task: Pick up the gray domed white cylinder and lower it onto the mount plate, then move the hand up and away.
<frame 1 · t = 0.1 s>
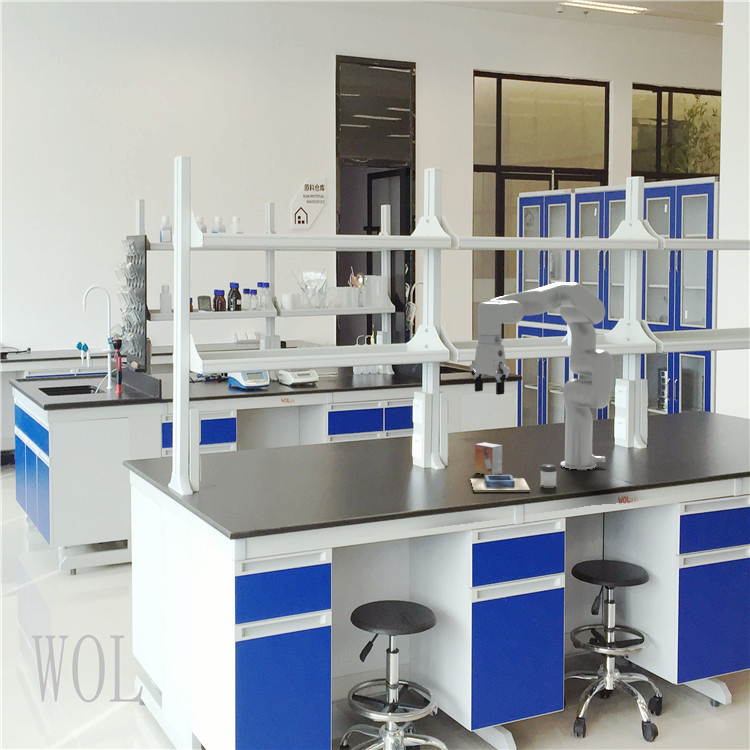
hand: (489, 392, 321), 31 cm above the worktop, tool pointing down, fingers open, 9 cm apart
small box: (488, 474, 343), on the worktop
mount plate: (499, 486, 324), on the worktop
gray domed white cylinder: (548, 486, 324), on the worktop
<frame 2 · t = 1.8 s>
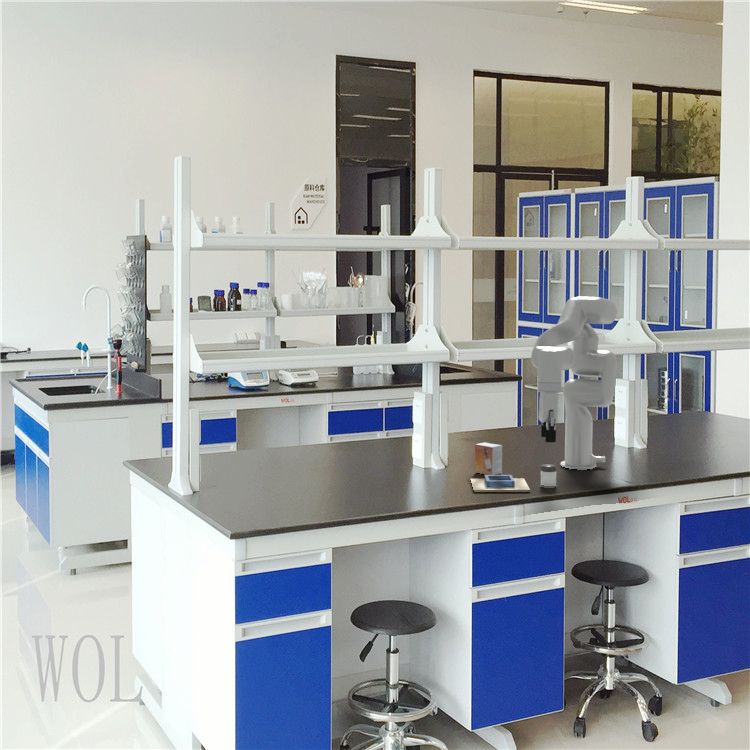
hand: (548, 439, 321), 16 cm above the worktop, tool pointing down, fingers open, 9 cm apart
nothing on the worktop moved.
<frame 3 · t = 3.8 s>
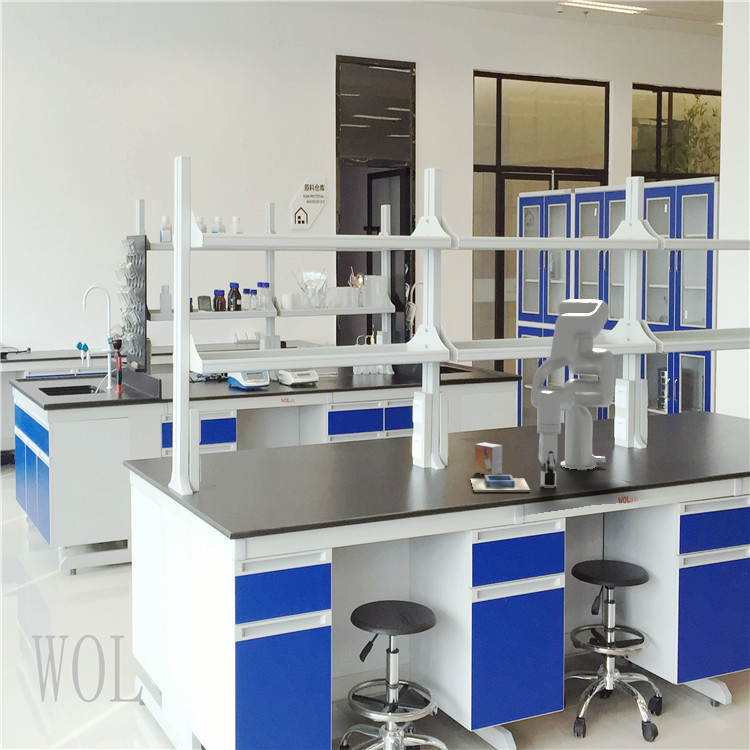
hand: (548, 482, 323), 1 cm above the worktop, tool pointing down, fingers closed on gray domed white cylinder, 5 cm apart
gray domed white cylinder: (548, 486, 323), on the worktop, touching gripper
everything else where it was.
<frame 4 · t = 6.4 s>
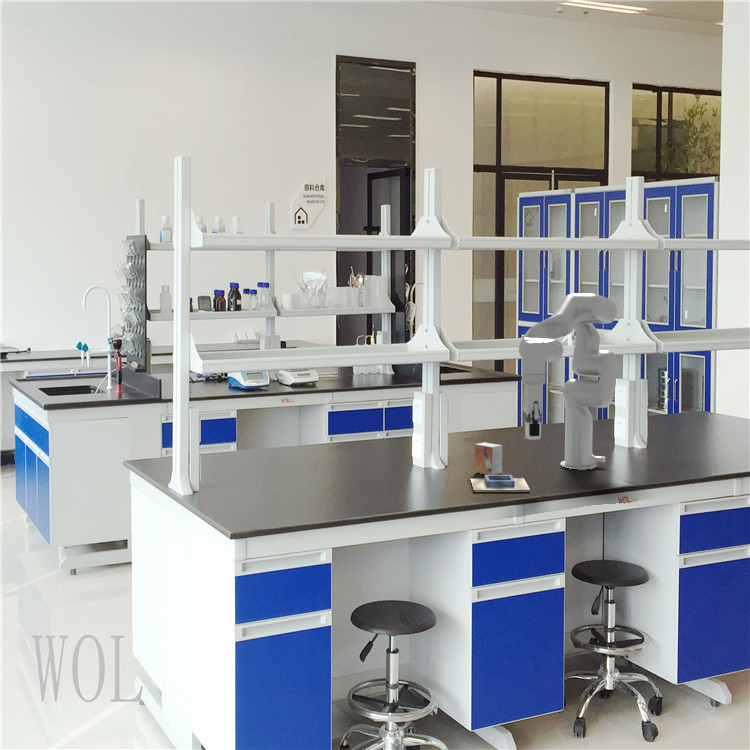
hand: (532, 433, 321), 18 cm above the worktop, tool pointing down, fingers closed on gray domed white cylinder, 5 cm apart
gray domed white cylinder: (533, 438, 321), point 16 cm above the worktop, touching gripper
everything else where it was.
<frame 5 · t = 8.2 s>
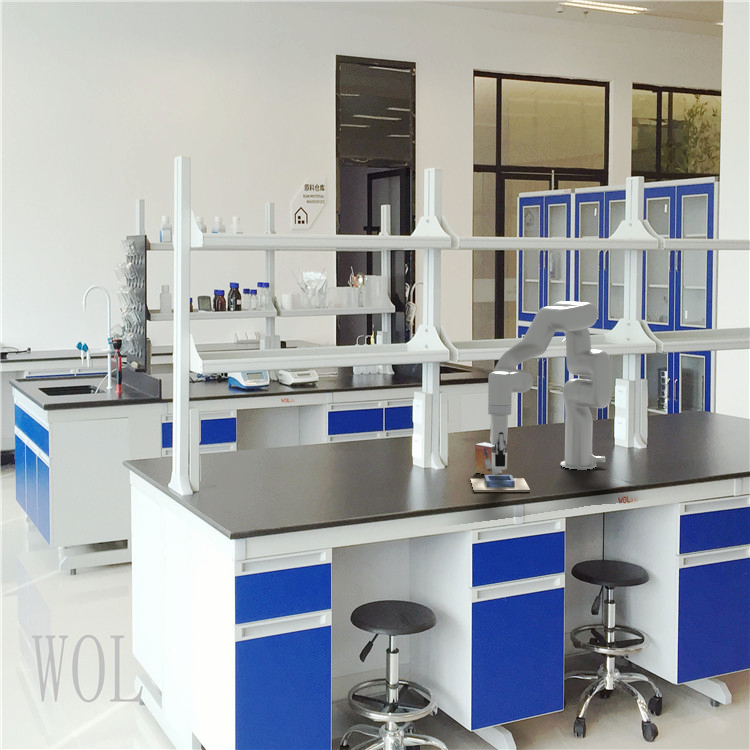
hand: (499, 463, 323), 8 cm above the worktop, tool pointing down, fingers closed on gray domed white cylinder, 5 cm apart
gray domed white cylinder: (499, 468, 323), point 6 cm above the worktop, touching gripper
everything else where it was.
when the fingers open (4 cm above the worktop, at t = 9.3 s): gray domed white cylinder drops 2 cm, resting on mount plate.
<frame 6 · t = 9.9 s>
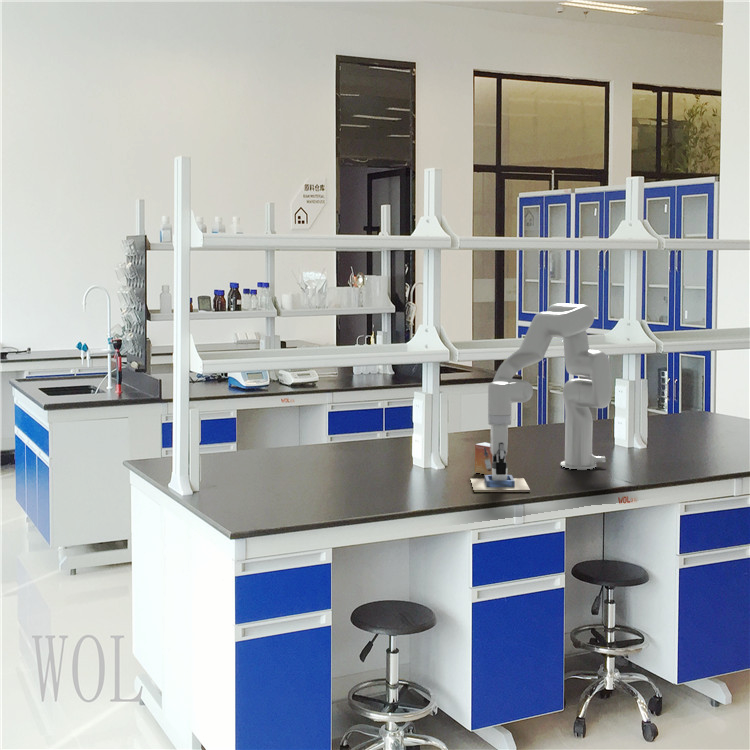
hand: (499, 471, 323), 5 cm above the worktop, tool pointing down, fingers open, 9 cm apart
gray domed white cylinder: (499, 483, 324), point 1 cm above the worktop, touching mount plate
everything else where it was.
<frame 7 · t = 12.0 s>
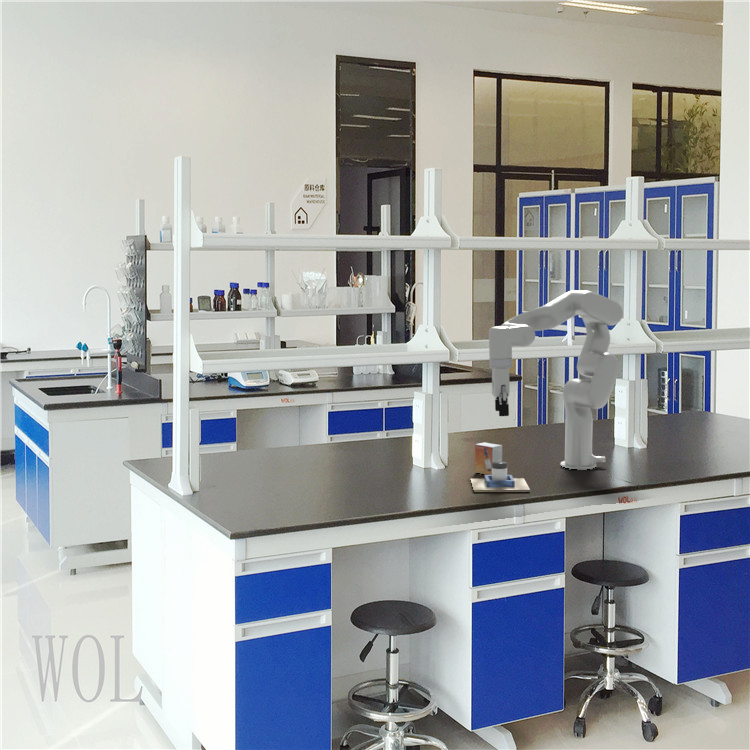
hand: (502, 413, 333), 22 cm above the worktop, tool pointing down, fingers open, 9 cm apart
nothing on the worktop moved.
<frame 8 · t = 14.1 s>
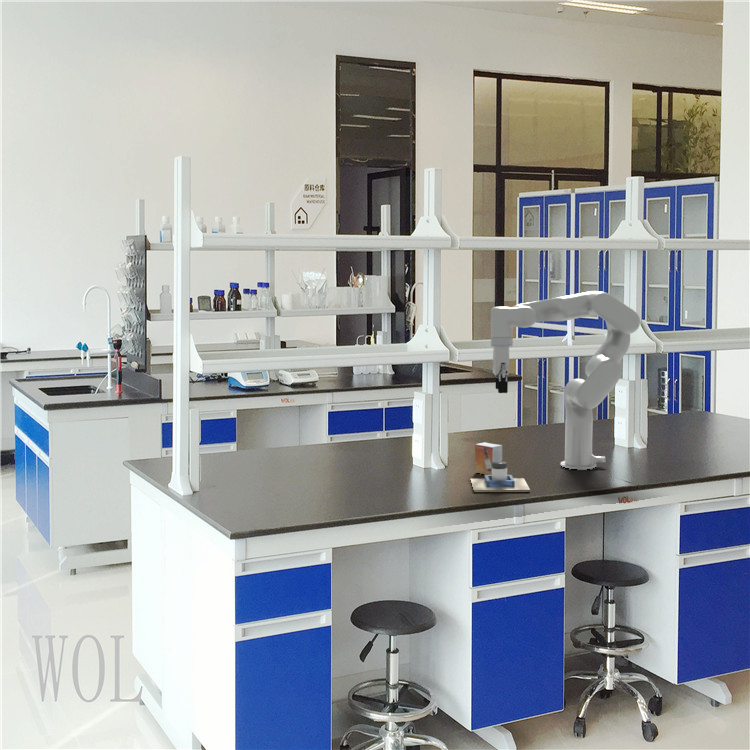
hand: (501, 390, 345), 28 cm above the worktop, tool pointing down, fingers open, 9 cm apart
nothing on the worktop moved.
at the end: gray domed white cylinder 0.1 cm off-centre on the mount plate, point 1.0 cm above the mount plate's base; gray domed white cylinder tilted 1°; the gripper is holding nothing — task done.
